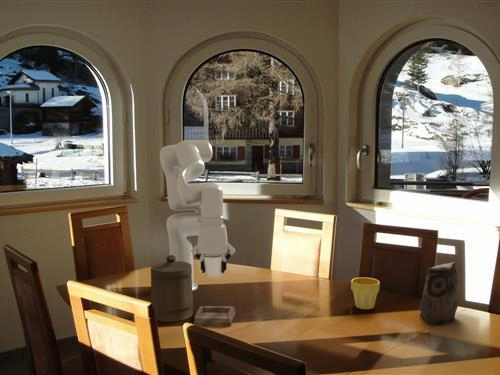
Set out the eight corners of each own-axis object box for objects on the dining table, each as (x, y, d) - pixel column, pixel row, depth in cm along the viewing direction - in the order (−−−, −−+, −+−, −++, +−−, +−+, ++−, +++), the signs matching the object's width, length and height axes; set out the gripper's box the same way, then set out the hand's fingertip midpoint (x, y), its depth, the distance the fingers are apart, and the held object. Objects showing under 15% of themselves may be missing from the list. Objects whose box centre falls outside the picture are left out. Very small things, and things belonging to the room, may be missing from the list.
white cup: (220, 277, 190) (220, 257, 190) (201, 277, 192) (201, 257, 191) (225, 272, 197) (225, 253, 196) (207, 271, 198) (206, 252, 198)
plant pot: (382, 304, 209) (382, 278, 208) (376, 312, 200) (376, 286, 199) (354, 300, 214) (355, 275, 213) (347, 309, 204) (347, 283, 203)
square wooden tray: (193, 325, 190) (193, 318, 190) (199, 312, 203) (199, 305, 203) (231, 325, 189) (230, 318, 189) (235, 312, 202) (235, 306, 202)
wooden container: (199, 310, 206) (198, 252, 203) (182, 324, 192) (180, 261, 189) (163, 306, 210) (161, 249, 208) (143, 320, 197) (141, 259, 194)
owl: (457, 316, 195) (459, 260, 193) (459, 329, 183) (461, 269, 181) (419, 313, 199) (421, 258, 197) (419, 325, 187) (420, 267, 185)
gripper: (185, 223, 189) (187, 274, 191) (236, 223, 188) (237, 275, 190) (189, 219, 197) (191, 269, 199) (238, 219, 195) (239, 269, 197)
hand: (213, 271), depth 194 cm, fingers closed on white cup, 6 cm apart
